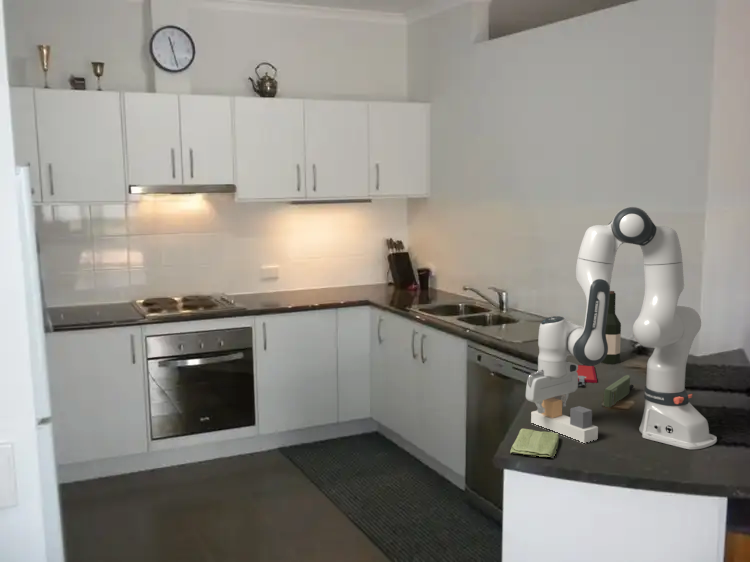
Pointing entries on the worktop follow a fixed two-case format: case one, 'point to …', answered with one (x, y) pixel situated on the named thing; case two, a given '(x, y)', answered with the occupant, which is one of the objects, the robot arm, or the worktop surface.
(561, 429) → the power strip
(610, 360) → the wine bottle
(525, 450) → the washcloth
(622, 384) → the handheld radio
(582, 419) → the block
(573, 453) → the worktop surface
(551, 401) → the orange charger
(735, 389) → the worktop surface
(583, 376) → the red board with handle
